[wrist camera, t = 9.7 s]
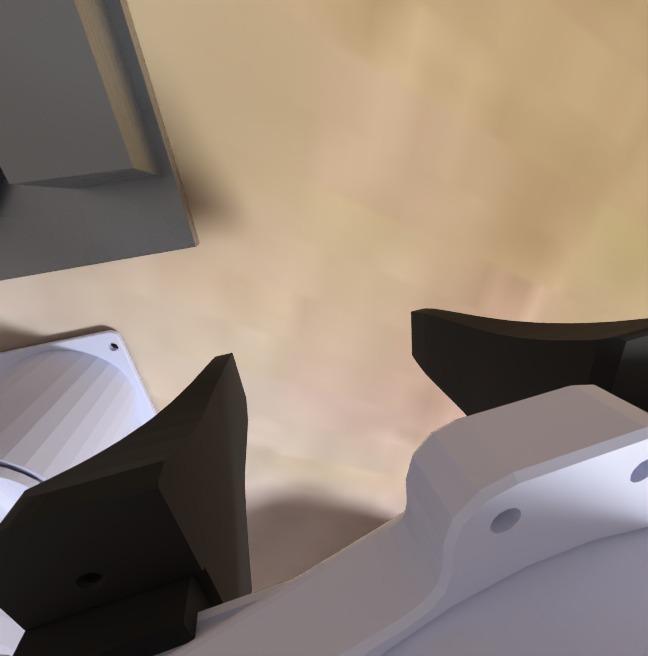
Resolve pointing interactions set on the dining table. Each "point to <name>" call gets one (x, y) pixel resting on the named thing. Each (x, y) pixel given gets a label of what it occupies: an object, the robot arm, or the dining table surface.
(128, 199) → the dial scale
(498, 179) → the dining table surface
